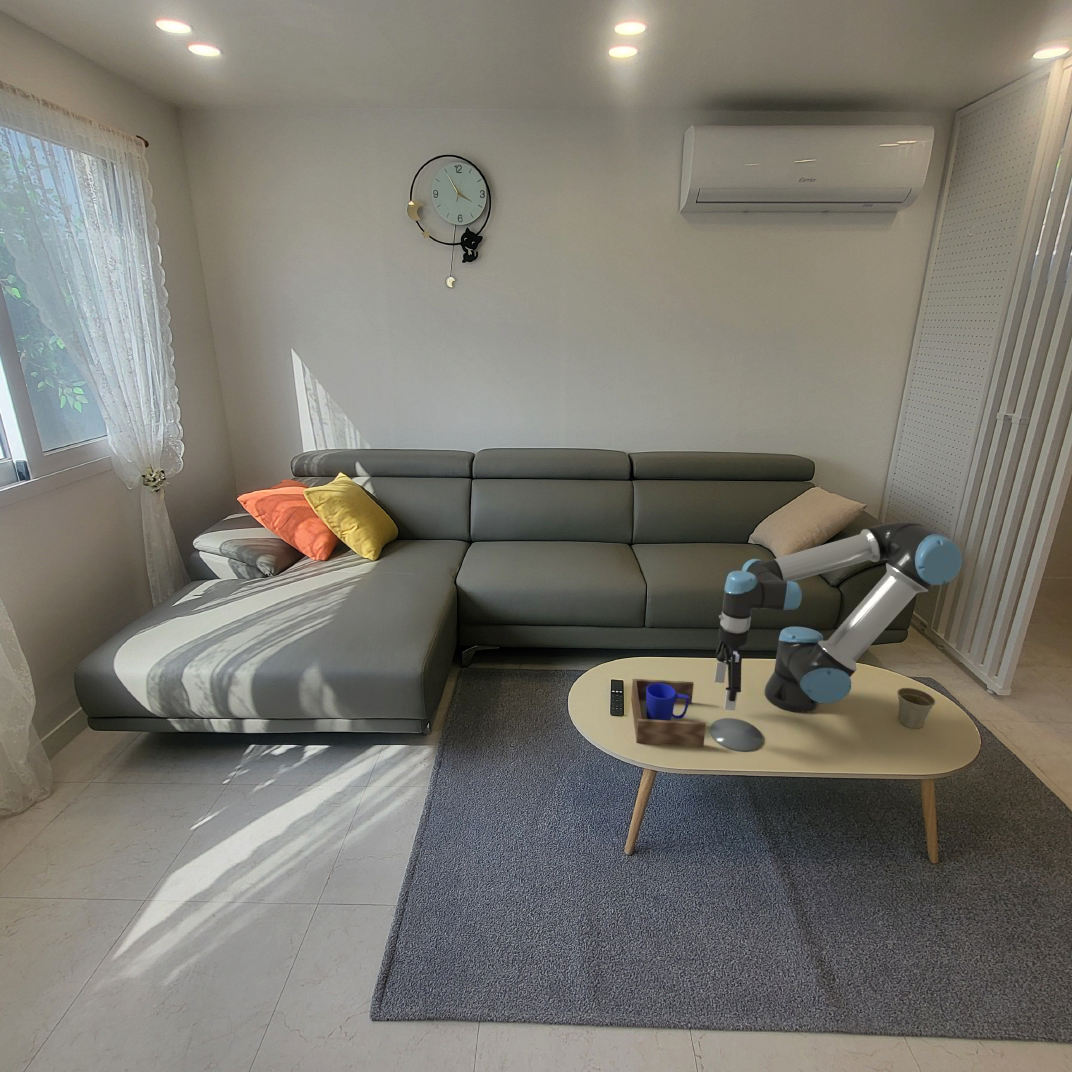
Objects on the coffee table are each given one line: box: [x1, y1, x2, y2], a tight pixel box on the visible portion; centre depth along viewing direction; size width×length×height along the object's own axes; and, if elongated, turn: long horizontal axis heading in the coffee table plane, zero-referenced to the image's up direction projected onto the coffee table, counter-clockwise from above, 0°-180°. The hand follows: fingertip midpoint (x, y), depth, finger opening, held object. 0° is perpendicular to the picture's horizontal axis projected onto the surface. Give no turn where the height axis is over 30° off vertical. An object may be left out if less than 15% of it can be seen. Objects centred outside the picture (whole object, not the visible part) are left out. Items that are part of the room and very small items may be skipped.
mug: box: [645, 683, 690, 721], centre depth 174 cm, size 8×12×10 cm
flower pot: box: [897, 687, 936, 729], centre depth 175 cm, size 9×9×9 cm
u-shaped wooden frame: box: [630, 678, 707, 748], centre depth 175 cm, size 18×21×7 cm
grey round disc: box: [709, 717, 764, 753], centre depth 170 cm, size 14×14×1 cm
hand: (723, 695), depth 171 cm, fingers open, 13 cm apart
